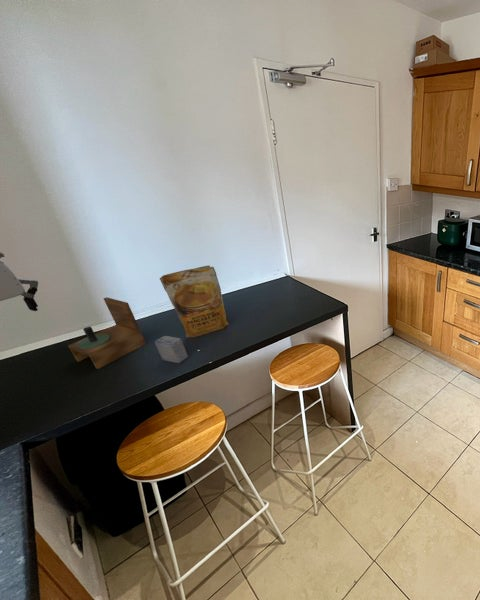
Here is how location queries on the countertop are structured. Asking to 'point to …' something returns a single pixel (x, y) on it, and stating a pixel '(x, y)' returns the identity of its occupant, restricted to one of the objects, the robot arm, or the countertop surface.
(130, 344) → the wooden bookend
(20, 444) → the countertop surface
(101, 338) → the lid
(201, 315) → the pancake mix bag
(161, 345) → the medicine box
